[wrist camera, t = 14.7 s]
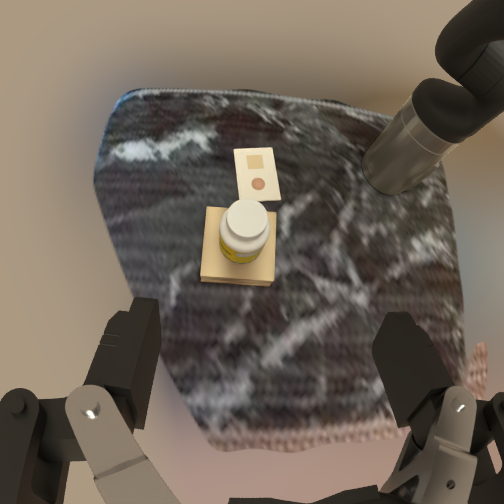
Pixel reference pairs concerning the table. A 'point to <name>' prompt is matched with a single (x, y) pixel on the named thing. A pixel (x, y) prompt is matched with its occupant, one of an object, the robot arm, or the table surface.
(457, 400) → the robot arm
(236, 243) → the supplement bottle
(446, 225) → the table surface
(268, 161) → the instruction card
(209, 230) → the beech block
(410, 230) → the table surface
